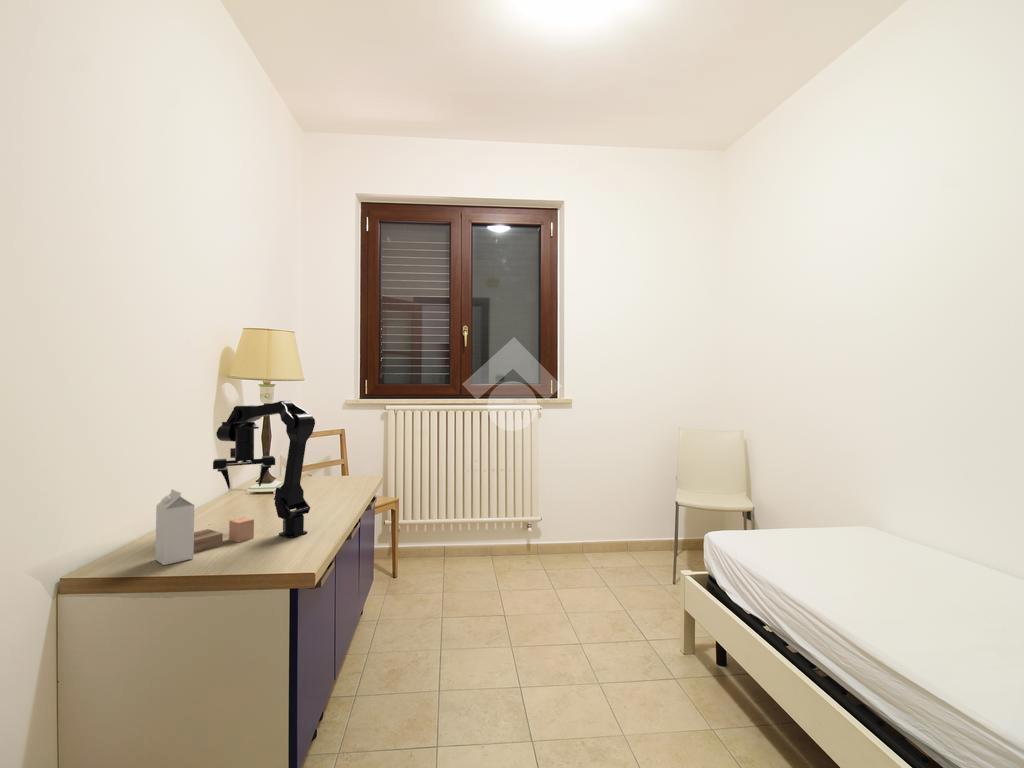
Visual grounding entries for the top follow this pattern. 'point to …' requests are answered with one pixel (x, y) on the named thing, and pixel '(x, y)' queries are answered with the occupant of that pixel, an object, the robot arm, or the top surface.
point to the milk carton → (174, 529)
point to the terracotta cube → (241, 529)
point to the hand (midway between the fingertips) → (244, 487)
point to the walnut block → (207, 540)
